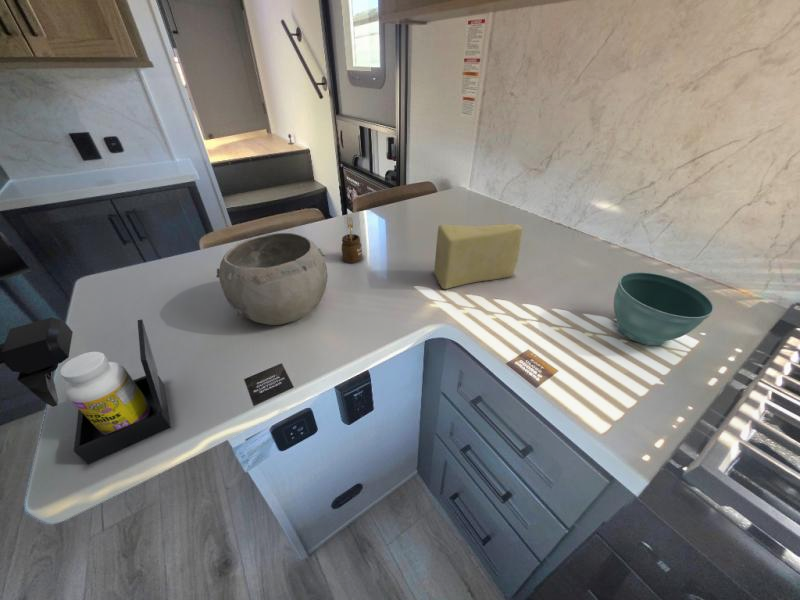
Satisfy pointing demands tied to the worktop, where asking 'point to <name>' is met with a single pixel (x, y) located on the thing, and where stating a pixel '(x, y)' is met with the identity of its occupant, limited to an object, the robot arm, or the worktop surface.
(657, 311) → the teal green bowl
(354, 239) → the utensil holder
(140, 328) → the lid
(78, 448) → the black open box
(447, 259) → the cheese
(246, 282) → the bowl
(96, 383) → the supplement bottle
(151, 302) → the worktop surface
